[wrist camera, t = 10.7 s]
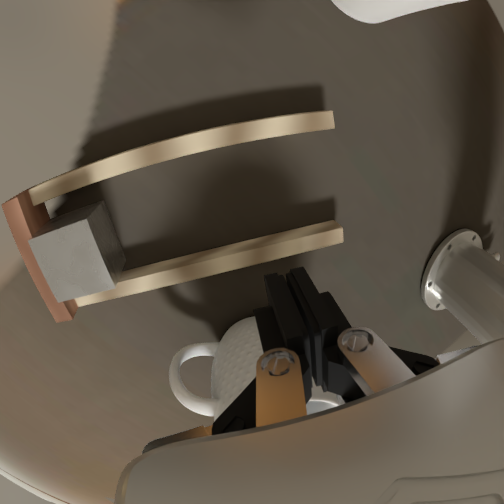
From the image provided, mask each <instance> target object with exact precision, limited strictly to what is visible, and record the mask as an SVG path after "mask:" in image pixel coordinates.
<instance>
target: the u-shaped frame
mask: <svg viewBox="0 0 504 504" xmlns="http://www.w3.org/2000/svg"><path fill="white" fill-rule="evenodd" d="M334 128H335V127H334V119H333V111H313V112H304V113H296V114H288V115H281V116H274V117H268V118H261V119H255V120H250V121H244V122H239V123H233V124H228V125H223V126H219V127H214V128H209V129H205V130H200V131H196V132H192V133H188V134H184V135H180V136H176V137H172V138H168V139H165V140H161V141H157V142H154V143H150V144H147V145H144V146H140V147H137V148H134V149H130V150H127V151H124V152H121V153H118V154H115V155H112V156H109V157H106V158H103V159H100V160H98V161H95V162H92V163H89V164H87V165H84V166H81V167H79V168H76V169H74V170H71V171H69V172H66V173H64V174H61V175H59V176H56V177H54V178H52V179H49V180H47V181H45V182H43V183H40V184H38V185H36V186H33V187H31V188H29V189H27V190H25V191H23V192H21V193H19V194H18V195H16V196H14V197H13V198H11V199H10V200H8V201H6V202H5V203H3V204H2V208H3V210H4V213H5V216H6V219H7V222H8V224H9V227H10V229H11V232H12V234H13V237H14V239H15V242H16V244H17V246H18V249H19V251H20V253H21V255H22V258H23V260H24V262H25V264H26V266H27V268H28V270H29V273H30V275H31V277H32V279H33V281H34V283H35V285H36V286H37V288H38V290H39V292H40V294H41V296H42V298H43V300H44V301H45V303H46V305H47V307H48V308H49V310H50V312H51V314H52V315H53V317H54V319H55V320H56V322H57V323H58V322H63V321H67V320H72V319H73V318H74V315H75V313H76V311H77V309H78V307H79V306H84V305H88V304H93V303H97V302H101V301H106V300H110V299H114V298H119V297H123V296H127V295H131V294H136V293H140V292H144V291H148V290H153V289H157V288H161V287H165V286H169V285H174V284H178V283H182V282H186V281H190V280H194V279H198V278H203V277H207V276H211V275H215V274H219V273H223V272H227V271H231V270H235V269H239V268H243V267H247V266H251V265H255V264H259V263H263V262H267V261H271V260H275V259H279V258H283V257H287V256H291V255H295V254H299V253H303V252H307V251H311V250H315V249H319V248H322V247H326V246H330V245H334V244H338V243H342V242H343V227H342V226H340V225H339V224H338V223H337V222H336V221H334V220H331V221H327V222H322V223H318V224H314V225H310V226H305V227H301V228H297V229H293V230H288V231H284V232H280V233H276V234H272V235H267V236H263V237H259V238H255V239H251V240H247V241H243V242H238V243H234V244H230V245H226V246H222V247H218V248H214V249H210V250H206V251H202V252H198V253H194V254H189V255H185V256H181V257H177V258H173V259H169V260H165V261H161V262H157V263H154V264H150V265H146V266H142V267H138V268H134V269H130V270H126V271H122V272H121V275H120V278H119V280H118V283H117V286H116V288H115V289H111V290H107V291H103V292H99V293H95V294H91V295H87V296H83V297H79V298H75V299H71V300H67V301H63V302H59V303H58V302H57V300H56V298H55V296H54V295H53V293H52V291H51V289H50V287H49V285H48V283H47V281H46V279H45V277H44V275H43V273H42V271H41V269H40V267H39V265H38V263H37V261H36V259H35V256H34V254H33V252H32V250H31V247H30V245H29V243H28V240H29V239H30V238H31V237H32V236H33V235H34V234H35V233H36V232H37V231H38V230H39V229H40V228H42V227H43V226H44V225H45V224H46V223H47V222H48V221H49V220H50V217H49V214H48V212H47V209H46V206H45V203H44V202H45V201H47V200H50V199H52V198H55V197H57V196H60V195H62V194H65V193H68V192H70V191H73V190H75V189H78V188H81V187H84V186H86V185H89V184H92V183H95V182H98V181H101V180H104V179H107V178H110V177H113V176H116V175H119V174H122V173H125V172H128V171H132V170H135V169H138V168H142V167H145V166H148V165H152V164H155V163H159V162H163V161H166V160H170V159H174V158H178V157H181V156H185V155H189V154H193V153H198V152H202V151H206V150H210V149H215V148H219V147H224V146H229V145H233V144H238V143H243V142H249V141H254V140H259V139H265V138H271V137H276V136H283V135H289V134H296V133H302V132H310V131H317V130H325V129H334Z"/></svg>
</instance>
